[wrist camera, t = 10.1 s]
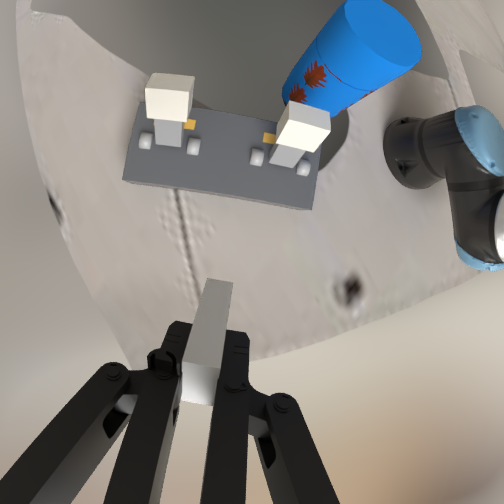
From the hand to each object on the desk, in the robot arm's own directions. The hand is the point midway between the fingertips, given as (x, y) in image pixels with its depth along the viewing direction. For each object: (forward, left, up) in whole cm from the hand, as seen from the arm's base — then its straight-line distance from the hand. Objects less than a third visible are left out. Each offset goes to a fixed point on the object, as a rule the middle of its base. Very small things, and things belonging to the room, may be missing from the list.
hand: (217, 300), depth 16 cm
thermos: (-13, -29, -30) cm, 44 cm away
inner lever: (-8, -14, -24) cm, 29 cm away
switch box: (0, -14, -30) cm, 33 cm away
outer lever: (+8, -14, -24) cm, 29 cm away
